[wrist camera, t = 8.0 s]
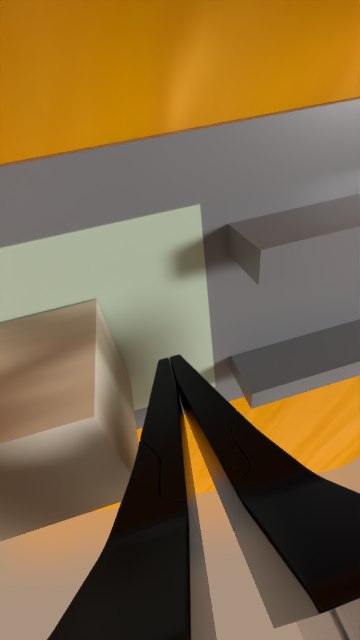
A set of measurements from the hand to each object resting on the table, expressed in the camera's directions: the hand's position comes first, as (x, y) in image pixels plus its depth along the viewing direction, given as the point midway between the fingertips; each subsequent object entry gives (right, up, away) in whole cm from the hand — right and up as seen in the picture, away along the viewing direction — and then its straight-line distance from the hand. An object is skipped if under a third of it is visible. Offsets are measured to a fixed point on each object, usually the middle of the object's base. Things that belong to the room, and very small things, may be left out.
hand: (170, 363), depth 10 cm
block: (-5, 0, +1) cm, 5 cm away
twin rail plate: (+4, +3, +3) cm, 6 cm away
